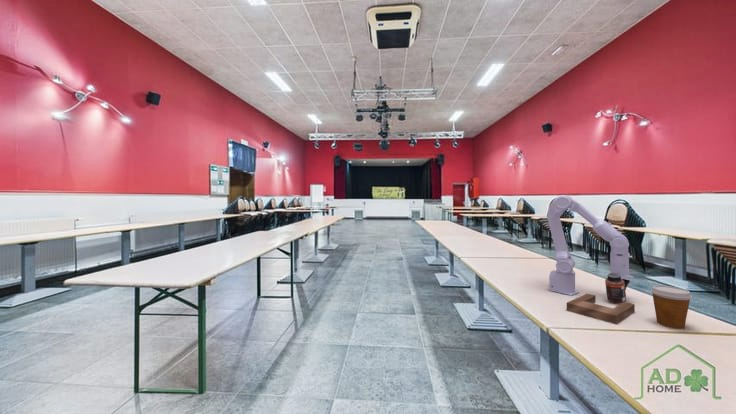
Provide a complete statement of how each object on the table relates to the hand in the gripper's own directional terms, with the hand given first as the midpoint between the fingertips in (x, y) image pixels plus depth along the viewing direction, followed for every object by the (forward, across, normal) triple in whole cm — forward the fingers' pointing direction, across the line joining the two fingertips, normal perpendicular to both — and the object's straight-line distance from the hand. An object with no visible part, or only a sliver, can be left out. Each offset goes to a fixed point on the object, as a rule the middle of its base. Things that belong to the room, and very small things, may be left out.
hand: (620, 296), depth 117 cm
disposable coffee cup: (+2, -15, -17) cm, 23 cm away
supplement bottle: (+1, -3, 0) cm, 3 cm away
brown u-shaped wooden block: (+2, -19, 0) cm, 20 cm away
